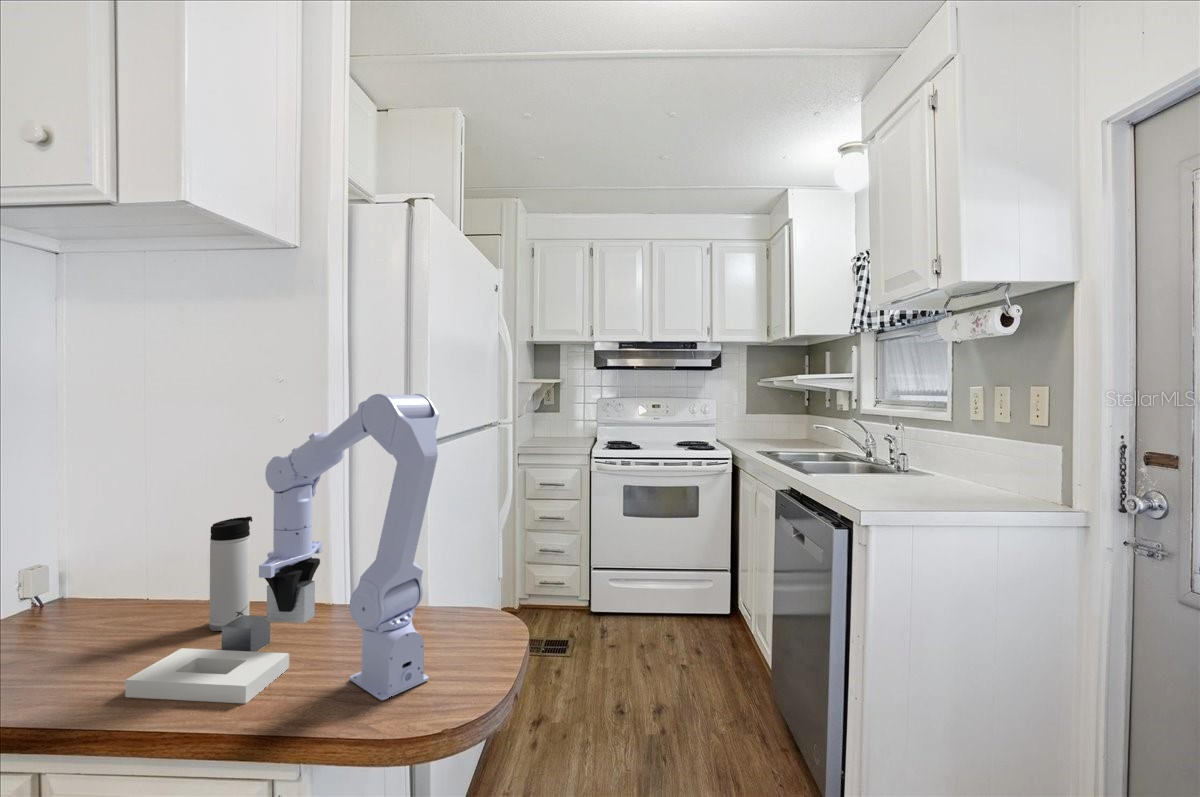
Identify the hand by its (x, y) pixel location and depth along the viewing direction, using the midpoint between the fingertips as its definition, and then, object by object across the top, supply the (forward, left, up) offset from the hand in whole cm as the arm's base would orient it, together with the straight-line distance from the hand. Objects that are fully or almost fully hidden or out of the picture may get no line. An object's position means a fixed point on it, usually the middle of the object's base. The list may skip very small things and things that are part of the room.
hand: (292, 606), depth 95 cm
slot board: (-1, +12, -8) cm, 14 cm away
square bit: (+7, +5, -8) cm, 11 cm away
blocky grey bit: (0, 0, -2) cm, 2 cm away
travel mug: (+20, +3, -8) cm, 22 cm away
